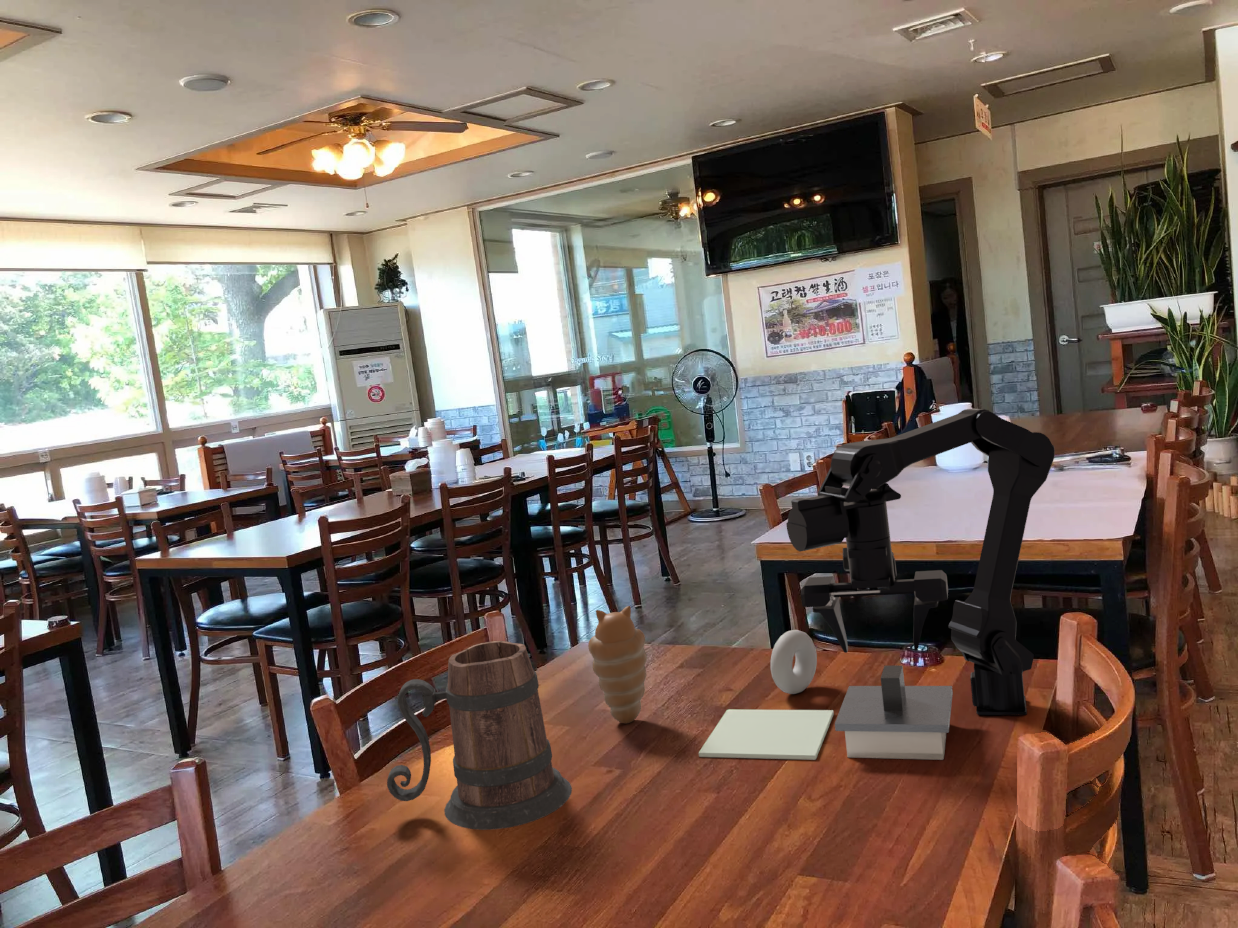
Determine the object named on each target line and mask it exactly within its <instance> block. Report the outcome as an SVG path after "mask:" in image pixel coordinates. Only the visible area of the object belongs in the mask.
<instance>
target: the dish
mask: <svg viewBox="0 0 1238 928" xmlns="http://www.w3.org/2000/svg"><path fill="white" fill-rule="evenodd" d="M844 736H845V747H846V748H845V749H846V756H847V758H851V759H852V758H853V759H854V758H857V759H892V760H893V759H896V760H897V759H898V760H899V759H901V760H902V759H903V760H934V761H935V760H936V761H937V760H939V761H943V760H944V758H945V750H946V740H947V733H938V732H871V731H844Z"/></svg>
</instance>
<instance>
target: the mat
mask: <svg viewBox="0 0 1238 928" xmlns="http://www.w3.org/2000/svg"><path fill="white" fill-rule="evenodd" d="M834 714H835V713H834V710H833V709H831V710H830V709H730V708H729V709H726V711H725V712H724V714H722V717H721V718H720V720H719V721H718V723H717V724H716V726H715V728H714V729H713V730H712V732H711V733H710V734H709V736H708V738H707V739H706V740H705V743H704V744H703V745H702V747H701V749H700V750H699V751H698V757H699V758H726V759H727V758H729V759H731V758H732V759H736V758H738V759H767V760H771V759H772V760H775V759H776V760H803V761H804V760H808V761H809V760H811V761H816V760H817V758H818V756H819V755H818V754H819V752H820V750H821V747H822V745H823V742H824V740H825V738H826V735H827V732H828V730H829V727H830V724H831V722H832V720H833V717H834Z"/></svg>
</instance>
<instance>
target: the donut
mask: <svg viewBox="0 0 1238 928" xmlns="http://www.w3.org/2000/svg"><path fill="white" fill-rule="evenodd" d="M814 643H815V642H814V641H813V640H812V638H811V637H810V636H809V635H808V634H807V632H804V631H801V630H798V629H792V630H788V631H785V632H784V633H782V635H780V636H779V638H778V639H777V640H776V642H775V644H774V645H773V649H772V651H771V657H770V673H771V678H772V680H773V682H774V684H775V686H777V688H778V689H779V690H780V691H781V692H783V693H786V694H790V695H796V694H799V693H802V692H803V691H805V689H807V688H808V687H809V686H810V685H811V683H812V681H813V679H814V676H815V673H816V669H817V665H818V661H817V660H818V659H817V657H818V654H817V650H816V646H815V644H814ZM794 657H795V661H793V660H794ZM793 662H795V663H794V666H793Z"/></svg>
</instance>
